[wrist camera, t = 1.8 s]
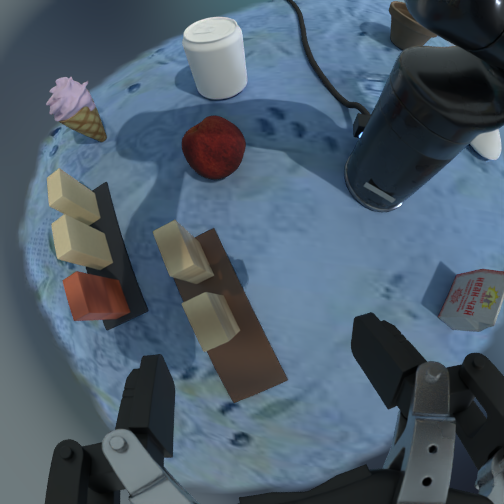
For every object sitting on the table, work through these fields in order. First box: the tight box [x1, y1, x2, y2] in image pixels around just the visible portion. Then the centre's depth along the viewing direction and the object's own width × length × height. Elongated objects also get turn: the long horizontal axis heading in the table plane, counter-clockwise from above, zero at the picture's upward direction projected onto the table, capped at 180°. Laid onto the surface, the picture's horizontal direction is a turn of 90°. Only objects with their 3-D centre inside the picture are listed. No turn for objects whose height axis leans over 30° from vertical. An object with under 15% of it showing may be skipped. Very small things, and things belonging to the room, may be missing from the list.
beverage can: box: [182, 17, 247, 99], centre depth 32 cm, size 8×8×12 cm
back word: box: [47, 168, 148, 330], centre depth 29 cm, size 20×7×9 cm, turn 26°
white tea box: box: [438, 269, 504, 332], centre depth 24 cm, size 4×7×10 cm, turn 144°
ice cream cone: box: [46, 77, 107, 142], centre depth 30 cm, size 7×6×15 cm
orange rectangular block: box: [63, 271, 130, 321], centre depth 27 cm, size 4×2×9 cm, turn 26°
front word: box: [153, 220, 288, 403], centre depth 26 cm, size 20×7×9 cm, turn 26°
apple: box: [182, 116, 246, 180], centre depth 31 cm, size 7×8×8 cm
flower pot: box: [389, 1, 437, 50], centre depth 34 cm, size 12×11×10 cm
